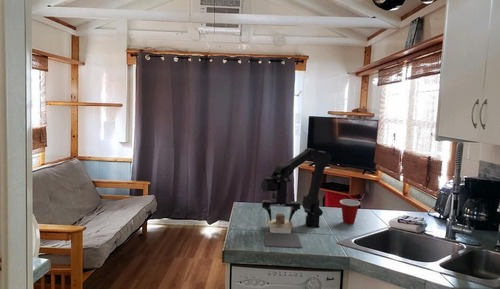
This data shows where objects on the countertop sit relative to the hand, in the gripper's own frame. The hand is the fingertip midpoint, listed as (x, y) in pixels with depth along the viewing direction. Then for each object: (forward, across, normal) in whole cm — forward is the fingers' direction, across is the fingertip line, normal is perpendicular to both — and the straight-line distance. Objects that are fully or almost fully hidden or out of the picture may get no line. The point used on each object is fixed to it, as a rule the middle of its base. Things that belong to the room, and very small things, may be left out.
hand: (280, 221), depth 183 cm
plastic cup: (+4, -39, -18) cm, 43 cm away
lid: (+1, 0, 0) cm, 1 cm away
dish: (+4, 0, 0) cm, 4 cm away
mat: (+4, 0, +16) cm, 17 cm away
